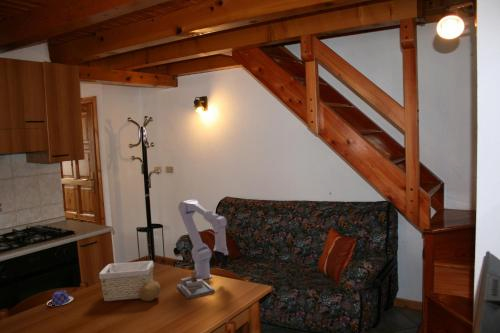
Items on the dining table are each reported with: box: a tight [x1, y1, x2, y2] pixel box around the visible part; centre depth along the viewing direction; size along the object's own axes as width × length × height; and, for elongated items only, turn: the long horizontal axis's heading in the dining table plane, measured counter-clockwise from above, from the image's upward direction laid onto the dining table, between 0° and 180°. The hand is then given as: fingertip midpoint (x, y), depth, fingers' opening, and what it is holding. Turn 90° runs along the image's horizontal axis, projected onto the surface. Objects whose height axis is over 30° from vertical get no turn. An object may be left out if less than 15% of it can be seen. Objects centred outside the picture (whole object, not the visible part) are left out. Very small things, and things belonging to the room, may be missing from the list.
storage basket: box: [98, 260, 155, 302], centre depth 201 cm, size 24×16×15 cm
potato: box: [138, 280, 161, 302], centre depth 194 cm, size 10×14×8 cm
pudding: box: [46, 289, 74, 307], centre depth 197 cm, size 12×12×5 cm
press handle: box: [186, 269, 204, 288], centre depth 203 cm, size 3×8×8 cm, turn 116°
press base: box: [176, 275, 216, 300], centre depth 203 cm, size 18×14×4 cm
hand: (222, 265), depth 211 cm, fingers open, 7 cm apart
